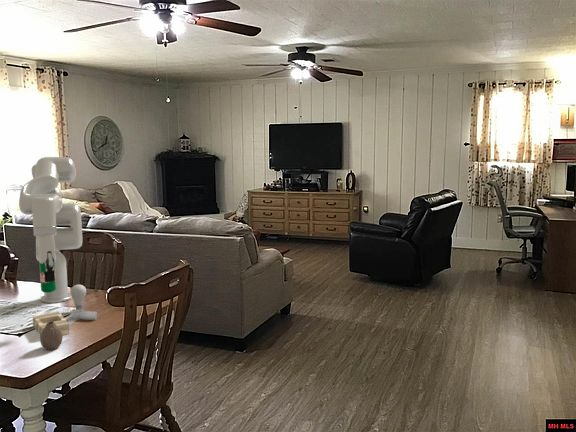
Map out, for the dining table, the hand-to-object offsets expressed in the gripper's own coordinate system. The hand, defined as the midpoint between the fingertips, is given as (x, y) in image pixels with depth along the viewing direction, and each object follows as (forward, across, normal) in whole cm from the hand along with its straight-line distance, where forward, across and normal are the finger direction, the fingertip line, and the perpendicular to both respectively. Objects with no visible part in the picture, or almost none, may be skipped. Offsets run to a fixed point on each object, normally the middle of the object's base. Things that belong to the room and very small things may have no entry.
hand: (48, 279), depth 186 cm
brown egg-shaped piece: (+19, +19, -4) cm, 27 cm away
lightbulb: (+20, -16, +14) cm, 29 cm away
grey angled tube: (+19, -5, +11) cm, 23 cm away
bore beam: (+19, +1, 0) cm, 19 cm away
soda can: (+5, 0, 0) cm, 5 cm away
